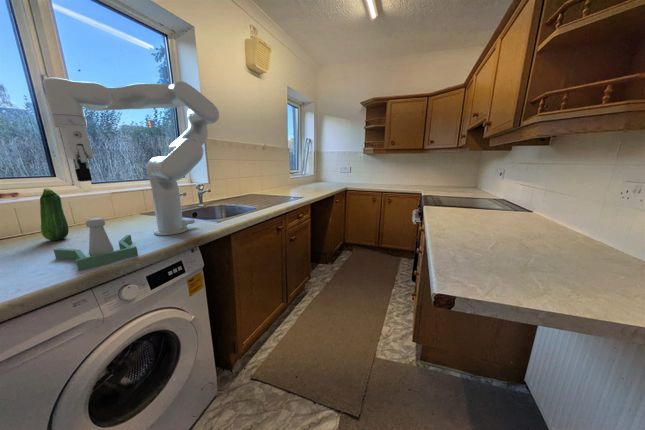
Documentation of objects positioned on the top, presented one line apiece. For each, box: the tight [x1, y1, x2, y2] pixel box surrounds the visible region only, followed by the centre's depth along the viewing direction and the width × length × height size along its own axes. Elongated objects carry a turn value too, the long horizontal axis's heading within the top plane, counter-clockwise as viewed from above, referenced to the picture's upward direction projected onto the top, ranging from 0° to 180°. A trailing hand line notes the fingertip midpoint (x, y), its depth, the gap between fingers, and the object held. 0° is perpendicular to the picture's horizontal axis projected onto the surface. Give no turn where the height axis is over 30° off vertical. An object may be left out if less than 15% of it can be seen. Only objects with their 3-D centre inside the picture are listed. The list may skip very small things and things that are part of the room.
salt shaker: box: [85, 217, 115, 257], centre depth 76 cm, size 6×6×13 cm
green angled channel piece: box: [53, 234, 139, 271], centre depth 80 cm, size 20×18×3 cm
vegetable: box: [39, 188, 70, 241], centre depth 93 cm, size 7×7×20 cm
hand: (85, 180), depth 82 cm, fingers closed
